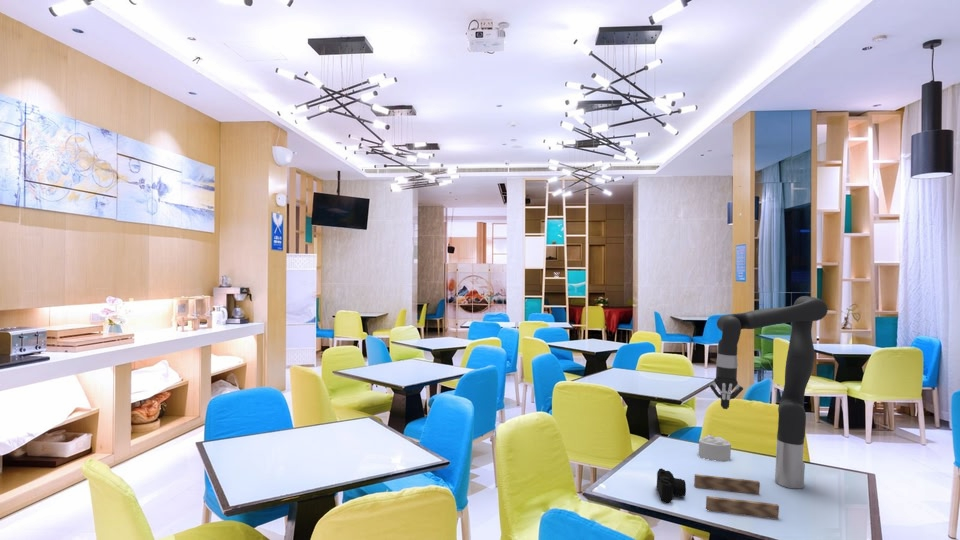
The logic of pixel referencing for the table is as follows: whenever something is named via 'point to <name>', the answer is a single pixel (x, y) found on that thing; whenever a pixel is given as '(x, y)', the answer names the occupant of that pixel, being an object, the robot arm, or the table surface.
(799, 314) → the robot arm
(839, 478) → the table surface
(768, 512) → the walnut chute
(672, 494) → the film camera
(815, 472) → the table surface
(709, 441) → the lumpy-topped squat cylinder
